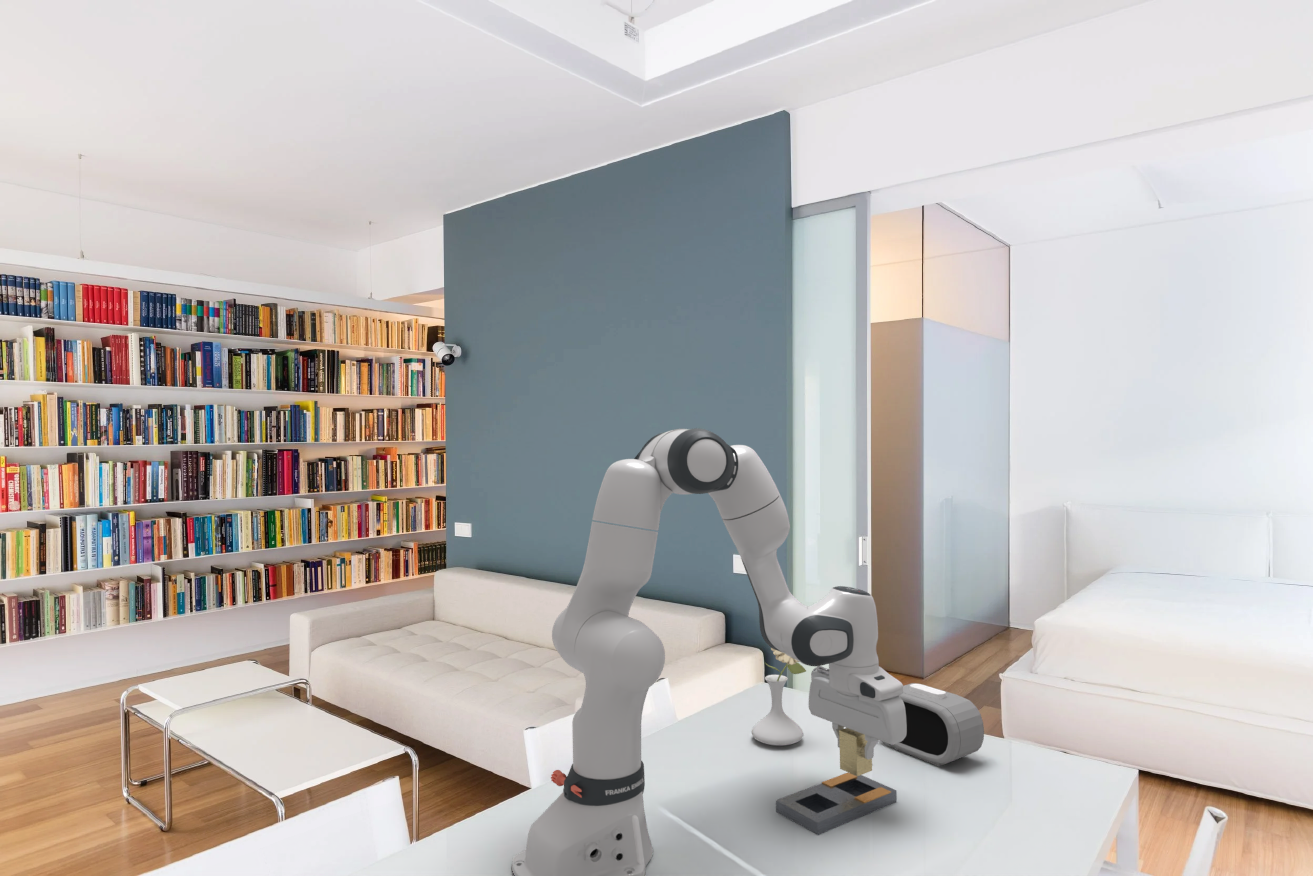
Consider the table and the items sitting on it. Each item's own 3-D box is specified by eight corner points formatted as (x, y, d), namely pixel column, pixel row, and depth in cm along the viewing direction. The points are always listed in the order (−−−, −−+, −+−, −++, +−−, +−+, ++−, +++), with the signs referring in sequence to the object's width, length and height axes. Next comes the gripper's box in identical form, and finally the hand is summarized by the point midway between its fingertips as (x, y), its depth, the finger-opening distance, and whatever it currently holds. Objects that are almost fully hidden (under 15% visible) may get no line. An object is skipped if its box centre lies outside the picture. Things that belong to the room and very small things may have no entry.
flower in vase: (745, 746, 168) (743, 631, 168) (759, 728, 178) (757, 619, 179) (805, 755, 163) (803, 636, 163) (815, 735, 173) (813, 624, 173)
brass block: (857, 776, 138) (856, 737, 138) (840, 769, 141) (839, 730, 141) (872, 770, 140) (871, 731, 140) (854, 763, 143) (854, 725, 143)
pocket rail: (818, 841, 128) (817, 821, 128) (776, 817, 136) (775, 799, 136) (896, 807, 139) (896, 789, 139) (853, 787, 147) (853, 770, 147)
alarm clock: (873, 743, 169) (872, 681, 169) (902, 733, 174) (900, 673, 174) (955, 775, 152) (954, 707, 152) (984, 764, 157) (983, 697, 157)
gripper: (800, 666, 147) (801, 739, 147) (887, 694, 130) (889, 776, 130) (823, 660, 151) (824, 731, 151) (911, 686, 134) (913, 767, 134)
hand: (855, 752), depth 140 cm, fingers closed on brass block, 4 cm apart
